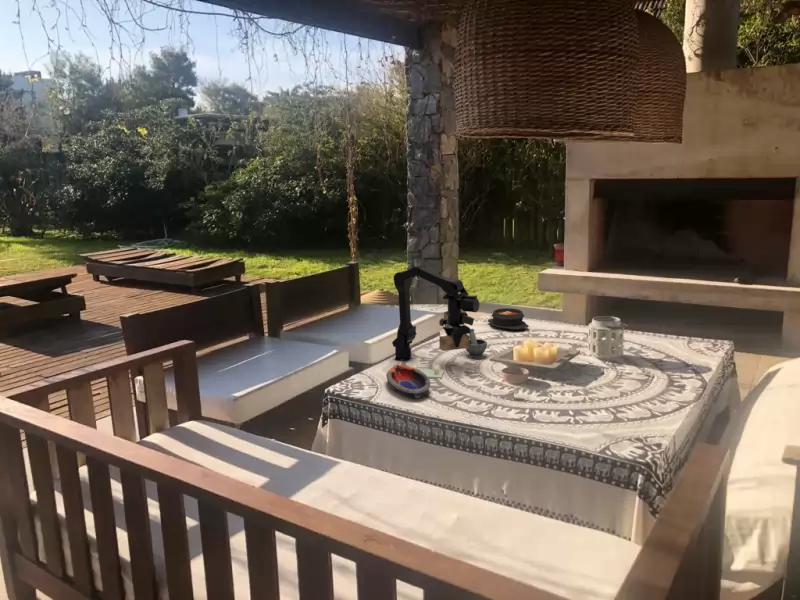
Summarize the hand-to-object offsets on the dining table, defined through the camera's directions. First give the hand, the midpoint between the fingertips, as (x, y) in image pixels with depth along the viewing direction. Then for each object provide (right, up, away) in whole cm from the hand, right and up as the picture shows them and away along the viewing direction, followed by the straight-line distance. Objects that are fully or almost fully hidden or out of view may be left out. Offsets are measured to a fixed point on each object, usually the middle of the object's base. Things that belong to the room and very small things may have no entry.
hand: (454, 345), depth 274 cm
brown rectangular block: (0, -1, 0) cm, 1 cm away
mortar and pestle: (+11, -6, +16) cm, 20 cm away
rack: (-12, -12, -7) cm, 18 cm away
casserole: (+33, +5, +65) cm, 73 cm away
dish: (-20, -15, -21) cm, 33 cm away
